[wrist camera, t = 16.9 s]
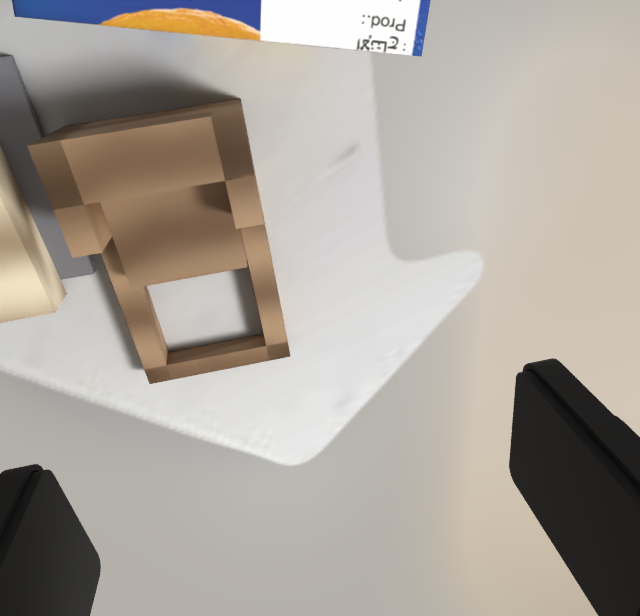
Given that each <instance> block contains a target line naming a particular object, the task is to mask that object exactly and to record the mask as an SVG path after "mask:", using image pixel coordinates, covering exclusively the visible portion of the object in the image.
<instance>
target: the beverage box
mask: <svg viewBox="0 0 640 616" xmlns="http://www.w3.org/2000/svg"><path fill="white" fill-rule="evenodd" d="M12 3H13V9H14V15H15V17H24V18H34V19H44V20H54V21H64V22H74V23H84V24H93V25H103V26H113V27H123V28H133V29H143V30H152V31H163V32H173V33H183V34H193V35H204V36H214V37H224V38H234V39H245V40H255V41H265V42H275V43H285V44H296V45H306V46H317V47H327V48H338V49H349V50H359V51H370V52H381V53H391V54H402V55H413V56H422V50H423V43H424V37H425V31H426V24H427V19H428V12H429V6H430V0H12Z"/></svg>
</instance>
